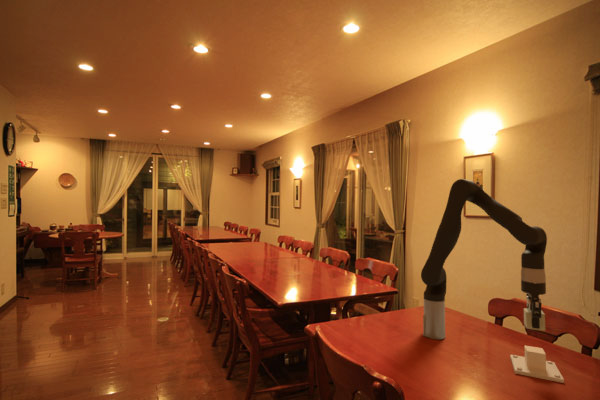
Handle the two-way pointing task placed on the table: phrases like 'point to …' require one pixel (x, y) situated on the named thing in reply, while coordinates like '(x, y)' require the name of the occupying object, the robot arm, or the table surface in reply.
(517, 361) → the baseplate
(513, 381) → the table surface
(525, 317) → the sage brick
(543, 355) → the cream brick
